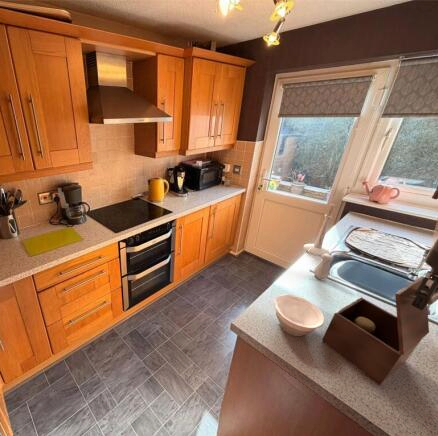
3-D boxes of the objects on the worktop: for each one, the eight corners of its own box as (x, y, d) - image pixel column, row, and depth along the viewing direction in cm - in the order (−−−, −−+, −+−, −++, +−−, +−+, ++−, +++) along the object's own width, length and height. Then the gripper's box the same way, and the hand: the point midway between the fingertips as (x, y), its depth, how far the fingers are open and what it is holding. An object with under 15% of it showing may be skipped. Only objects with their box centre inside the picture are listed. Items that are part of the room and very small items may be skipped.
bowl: (321, 326, 88) (328, 309, 85) (311, 354, 78) (319, 336, 75) (276, 304, 99) (281, 288, 95) (262, 326, 88) (267, 309, 85)
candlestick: (302, 243, 145) (317, 198, 133) (327, 248, 140) (345, 201, 127) (304, 252, 135) (320, 205, 122) (331, 258, 129) (350, 209, 117)
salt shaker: (329, 279, 113) (338, 257, 108) (320, 282, 111) (329, 259, 106) (318, 272, 118) (326, 251, 113) (309, 274, 117) (317, 253, 111)
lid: (395, 293, 62) (423, 299, 57) (421, 276, 69) (448, 280, 64) (399, 353, 63) (427, 364, 59) (425, 331, 70) (452, 339, 65)
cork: (369, 353, 77) (383, 330, 73) (347, 348, 79) (359, 325, 75) (360, 338, 83) (373, 316, 78) (340, 333, 84) (351, 311, 80)
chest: (321, 340, 83) (334, 312, 77) (347, 324, 89) (361, 297, 83) (379, 385, 69) (401, 355, 63) (405, 362, 76) (426, 332, 70)
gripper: (469, 267, 51) (431, 322, 58) (489, 252, 57) (452, 304, 63) (421, 251, 57) (392, 302, 64) (443, 239, 63) (414, 287, 70)
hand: (422, 303), depth 64 cm, fingers closed on lid, 6 cm apart
